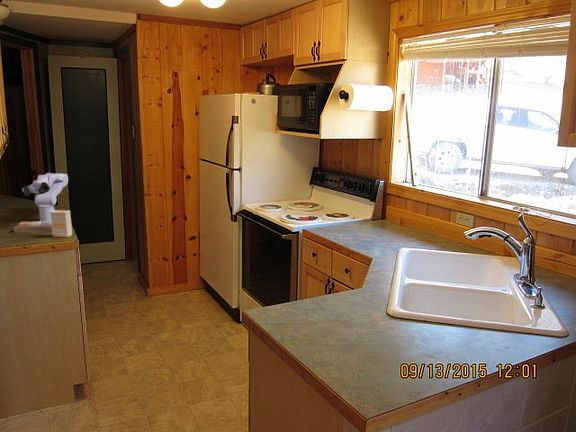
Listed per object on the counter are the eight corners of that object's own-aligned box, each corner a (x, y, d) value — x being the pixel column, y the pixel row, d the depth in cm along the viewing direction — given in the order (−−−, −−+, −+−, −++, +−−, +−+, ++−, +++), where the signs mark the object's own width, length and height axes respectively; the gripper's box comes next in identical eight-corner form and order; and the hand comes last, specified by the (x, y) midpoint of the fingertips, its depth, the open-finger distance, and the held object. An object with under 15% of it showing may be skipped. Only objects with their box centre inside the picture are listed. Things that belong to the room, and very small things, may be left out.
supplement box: (72, 235, 251) (70, 210, 248) (67, 237, 246) (65, 212, 243) (57, 234, 251) (55, 209, 249) (52, 237, 247) (49, 211, 244)
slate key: (43, 224, 264) (43, 221, 264) (52, 224, 265) (51, 220, 265) (41, 226, 260) (41, 222, 260) (50, 226, 261) (49, 222, 261)
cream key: (32, 225, 263) (32, 221, 263) (41, 225, 264) (41, 221, 264) (30, 227, 259) (30, 223, 259) (39, 226, 260) (38, 222, 260)
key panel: (21, 226, 266) (21, 222, 266) (57, 225, 270) (56, 221, 270) (13, 232, 254) (13, 227, 253) (51, 231, 258) (50, 226, 257)
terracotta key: (21, 225, 262) (21, 221, 262) (30, 225, 263) (29, 221, 263) (19, 227, 258) (18, 223, 258) (27, 227, 259) (27, 223, 258)
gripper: (24, 180, 267) (15, 188, 254) (51, 175, 268) (43, 183, 255) (28, 192, 269) (19, 201, 257) (55, 187, 271) (48, 195, 258)
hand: (31, 193), depth 256 cm, fingers open, 7 cm apart
